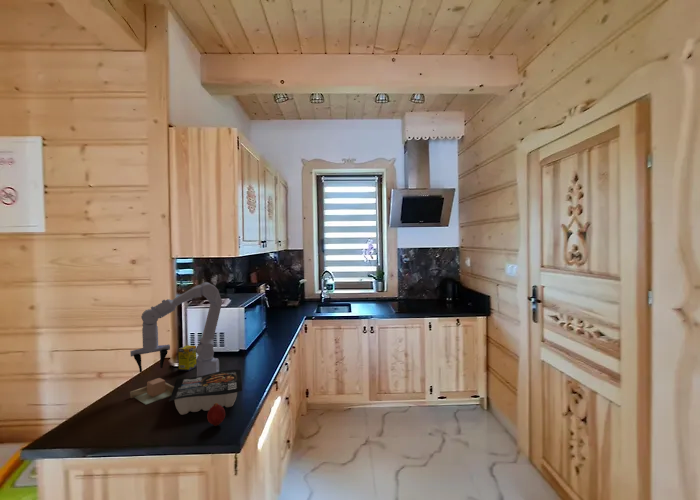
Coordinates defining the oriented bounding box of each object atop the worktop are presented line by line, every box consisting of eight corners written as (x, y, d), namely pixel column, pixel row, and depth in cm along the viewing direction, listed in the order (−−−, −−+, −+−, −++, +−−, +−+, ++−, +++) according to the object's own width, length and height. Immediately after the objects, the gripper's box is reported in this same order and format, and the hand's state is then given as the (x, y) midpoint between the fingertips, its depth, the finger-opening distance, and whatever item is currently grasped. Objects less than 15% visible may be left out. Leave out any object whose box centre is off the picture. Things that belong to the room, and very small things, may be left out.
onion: (210, 421, 120) (210, 399, 120) (227, 420, 120) (227, 398, 120) (205, 430, 114) (204, 407, 114) (222, 429, 114) (222, 406, 114)
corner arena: (163, 386, 150) (162, 380, 150) (178, 394, 142) (177, 388, 142) (130, 397, 139) (129, 391, 139) (144, 406, 131) (144, 400, 131)
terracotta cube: (159, 389, 146) (159, 377, 146) (165, 392, 143) (165, 380, 143) (147, 393, 142) (146, 381, 142) (152, 396, 139) (152, 384, 139)
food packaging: (240, 368, 151) (241, 388, 129) (240, 384, 151) (242, 408, 130) (177, 376, 143) (168, 399, 121) (178, 394, 143) (168, 420, 121)
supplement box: (189, 371, 167) (188, 349, 167) (178, 370, 168) (177, 348, 168) (196, 367, 173) (196, 345, 173) (186, 366, 174) (185, 345, 174)
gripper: (167, 333, 153) (168, 363, 154) (129, 338, 145) (130, 370, 145) (170, 336, 148) (171, 367, 148) (130, 342, 139) (131, 375, 140)
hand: (151, 369), depth 146 cm, fingers open, 7 cm apart
